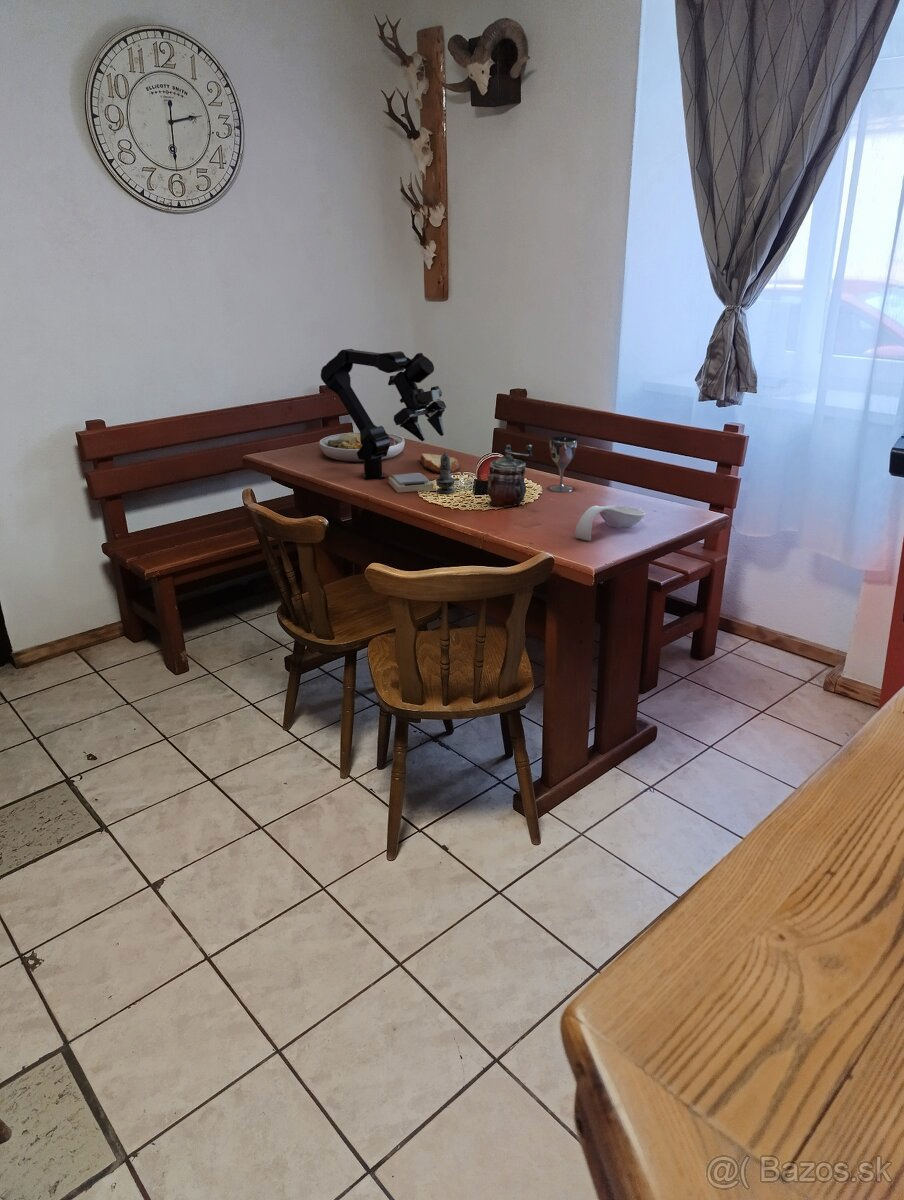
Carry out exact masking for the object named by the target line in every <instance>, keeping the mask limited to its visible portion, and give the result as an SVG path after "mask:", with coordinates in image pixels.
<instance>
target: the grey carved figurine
mask: <svg viewBox="0 0 904 1200" xmlns="http://www.w3.org/2000/svg"><path fill="white" fill-rule="evenodd" d="M439 468H440V473H439V477H436V478H435V482H436V485H437V487H439V488H438V489H437V490H436V493H437V494H441V495H442V494H443V495H448V494H453V493H455V490H454V489H453V487H454V484H455V482H456V479H455V478H454V477H452V475H451V474H452V473H450V468H451V466H450V455H448V454H447V452H446V451H444V452H443V454H442V456H441V466H440V467H439Z"/></svg>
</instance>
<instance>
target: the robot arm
mask: <svg viewBox="0 0 904 1200" xmlns="http://www.w3.org/2000/svg"><path fill="white" fill-rule="evenodd" d="M354 365H360V366H367V367H374V368H376V369H377V370H379V371H381V372H383V373H386V374H392V373H396V374H395V375H394V374H393V375H390V376H389V380H388V382H387V385H388V386H395V388H396V389H397V391H398V393H399V395H400V399H399V403H401V404H404V405H405V407H403V408H401V409H400V410H399V411H398V412H397V413H395V414H394V415H393V422H394V424H395V426H399V427H400V428H403V429H404V430H405V431H407V432H409V433H410V434H412V435H413V436H414V437H415V438H416V439H418V440H419V441H421V442H424V441H425V440H426V438H425V435H424V433H423V430H422V429H421V426H420V424H419V417H420V416H423V415H424V416H425V417H426V421H427V422H428V423H429V425H430V426H431V427H432V428H433V429H434V430H435V431H436V433H437V434H438V435H439V437H443V436H444V435H445V433H444V426H443V425H444V424H443V419H442V418H443V413H444V412H445V411H446V410H445V409H447V405H446V403H445V401H444V400H441V397H442V396H443V391H442V390H441V388H440V386H438V385H436V386H431V387H430V390H428V391H425V390H424V388H419V387H418V385H417V384H420V383H422V382H423V381H424V380H425V379H427V378H428V377H429V376H430V375H432V374H433V373H434V372H435V365H434V363H433V361H431V360H430V358H428V357H426V356H425V355H424V354H423V352H418V353H416V354H415V355H414V356H413V357H412V358H409V357H408V356H406V355H405V353H404V352H403V351H400V350H397V351H389V352H388V351H387V352H381V353H380V352H375V351H368V350H367V351H365V350H358V349H353V348H345V349H341V350H340V351H338V352H337V354H336V355H335V356H334V357H333V358H332V359H331V360H329V361H328V362H327V363H326V364H325V365H324V366H322V368H321V370H320V379H321V381H322V382H323V383H324V385H325V386H326V387H327V388H328V389H329V390H330V391H332V392H334V393H335V394H336V395H337V396H338V398H339V400H340V401H341V403H342V405H343V406H344V408H345V410H346V411H347V413H348V415H349V416H350V418H351V419H352V421H353V423H354V425H355V426H356V428H357V430H358V432H360V441H361V444H362V447H361V448H360V449H359V450H358V452H357V456H358V459H361V460H364V462H363V472H362V473H361V476H362V478H364V480H375V479H376V480H377V479H386V475H385V474H384V473H383V460H382V457H384V456H387V452H388V450H389V447H390V440H389V438H388V437H389V435H388V434H387V433H388V432H387V431H386V430H385V427H384V426H383V425H379V426H377V425H376V424H374V422H373V421H372V419H371V417H370V416H369V414H368V412H367V410H366V409H365V408H364V406H363V404H362V402H361V401H360V399H359V398H358V396H357V394H356V393H355V391H354V389H353V388H352V386H351V385H352V384H351V382H352V381H351V375H350V373H351V371H352V370H353V367H354Z"/></svg>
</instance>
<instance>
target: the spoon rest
mask: <svg viewBox="0 0 904 1200" xmlns="http://www.w3.org/2000/svg"><path fill="white" fill-rule="evenodd" d="M598 515H600V517H601V519H602V520H604V522H605V523H607V525H608V526H609V527H612V528H617V529H627V528H631V527H632V526H635V525H637V524H638V523H640V522H641V521H642V520H643V518H644V517H645V515H646V512H645V510H643V509H640V508H636V507H631V506H622V505H603V506H599V505H597V504H595V505H592V506H590V507H589V508H587V509H586V511H585V512H584V513H583V514H582V515H581V517H580V519H578V523H577V524H576V527H575V530H574V538H576V539H580V540H583V541H591V540H592V527H593V522H594V520H595V518H596V517H597V516H598Z"/></svg>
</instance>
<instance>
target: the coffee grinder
mask: <svg viewBox="0 0 904 1200" xmlns="http://www.w3.org/2000/svg"><path fill="white" fill-rule="evenodd" d="M533 446H534V445H533V444H526V445H525V448H524V450H525V451H527V454H526V453H519V452H514V451H513V450H511V448H512V447H511V445H510V444H506V445H505V449H504V453H505V455H502V456H500V457H499V458H497V459H494V460H492V461H490V463H489V464H490V465H488V469H489V471H488V473H487V474H486V476H487V491H486V492H487V495H488V497H489V499H490V506H494V507H498V506H505V507H508V508H509V507H511V506H520V505H521V504H522V502H523V501H524V500H525V496H526V493H527V486H526V482H525V478H524V476H525V473H526V466H527V463H526V462H524V461H522V460H520V459H517V458H516V459H515V458H514V457H513V455H518V456H524V457H534V455H533V454H532V448H533Z"/></svg>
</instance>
